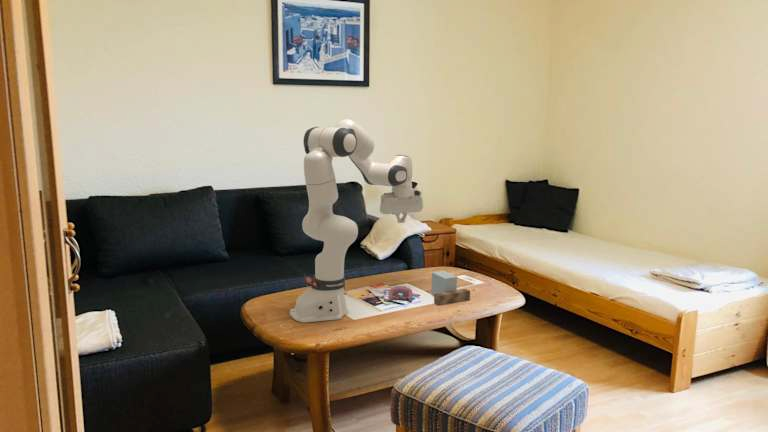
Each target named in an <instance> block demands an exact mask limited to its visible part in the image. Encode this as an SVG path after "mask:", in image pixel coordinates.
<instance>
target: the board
mask: <svg viewBox="0 0 768 432" xmlns="http://www.w3.org/2000/svg"><path fill="white" fill-rule="evenodd" d="M433 297H434V298H433V300H434V301H433V303H434V305H437V306H443V305H449V304H455V303H460V302H467V301H470V299H471V290H469V289H467V288H463V289H459V290H456V291H450V292H443V293H437V294H434V296H433Z"/></svg>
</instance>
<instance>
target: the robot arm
mask: <svg viewBox="0 0 768 432" xmlns="http://www.w3.org/2000/svg"><path fill="white" fill-rule="evenodd" d="M303 148H304V152H305V153H306V154H305V156H304V159H303V175H304V180H305V186H306V192H307V196H308V197H307V198H308V211H307V213H306V214H305V216H304V217H303V219H302V223H301V228H302V232H303V233H304V234H305V235H307V236H308V237H310V238H312V239H313V240H316V241H320V242H323V248H322V251H321V252H320V253H318V254H317V255H316V257H315V259H314V268H315V270H314V271H315V273H314V277H313V278H311V277H309V276H308V277H306V283H308V284H310V286H309V288H308V289H305V291H304V292H302V293H301V294H300V295H299V296H298V297H297V298H296V302H295V307H294V308H291V309H290V310H289V316H290V317H291V318H292V319H293V320H295V321H297V322H300V323H304V324H305V323H313V322H322V321H323V322H325V321H335V320H342V319H343V316H345V315H346V314H348V312H349V311H348V306H347V304H346V303H347V302H346V296H345V295H346V294H345V290H346V277H345V257H346V254H347V251H348V249H349V247H350V246H351V245H352V244H353V243H354V242H355V241H356V240H357V238H358V235H359V227H358V224H357V222H355V221H354V220H352V219H350V218H348V217H346V216H343V215H338V214H334V212H333V205H334V204H335V203H336V202H337V200H338V199H339V192H338V187H337V181H336V180H337V179H336V175H335V171H334V168H333V159H334V158H338V157H340V158H344V157H345V158H346V157H348V158H349V160H350V161H351V162H352V163H353V164H354V166H355V167H356V168H357V169H358V171H359V172H360V174H361V175H362V177H363V180H364V182H365V183H366V184H367V185H370V186H384V187H391V192H384V193H383V194H381V196H380V206H379V212H380V214H383V215H393V214H394V216H395V218H396V219H397V223H398V224H404V223H406V218H407V217H408V213H417V212H422V211H423V209H424V207H423V206H424V201H423V198H422V195H423V191H421V190H419V189H416V188H414V187H413V183H412V178H413V161H412V158H411V157H410V156H409V155H405V154H404V155H402V154H396V155H394V156H393V159H392V161H390V162H388V163H386V162H384V163H383V162H376V161H373V160H370V159H369V157H371V155H372V154H373V152H374V149H375V141H374V139H373V137H372V136H371V135H370V134H369V133H368V132H367V130H365V129H364V128H363V127H362V126H361V125H360V124H358V123H357V122H355V121H354V120H353V119H349V118H344V119H342V120H340V121H339V122H337V123H336V125H335V126H314V127H311V128H309V129H307V130H306V131H305V133H304V136H303ZM401 214H402V217H400V216H401Z"/></svg>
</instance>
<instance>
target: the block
mask: <svg viewBox="0 0 768 432" xmlns="http://www.w3.org/2000/svg"><path fill="white" fill-rule="evenodd" d="M457 288H458V278H457V277H456V275H454V274H452V273H449V272H447V271H445V270H439V271H433V272H431V288H430V289H431V293H430V294H431V296H433V297H434V294H437V293H443V292H450V291H456V290H457Z"/></svg>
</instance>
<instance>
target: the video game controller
mask: <svg viewBox="0 0 768 432" xmlns="http://www.w3.org/2000/svg"><path fill="white" fill-rule="evenodd" d="M400 294H402V295H401V299H402V300H403V299H404V300H403V301H406V300H407V299H408V302H409V303H412V301H413V290H412V289H411V288H410V287H408V286H405V285H396V286H391V288H390V289H389V292H388V301H389V302H392V300H393V298H394V299H395V300H399V299H400Z"/></svg>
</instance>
